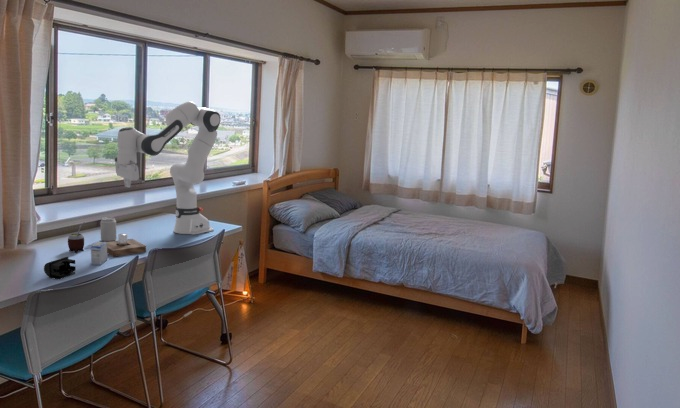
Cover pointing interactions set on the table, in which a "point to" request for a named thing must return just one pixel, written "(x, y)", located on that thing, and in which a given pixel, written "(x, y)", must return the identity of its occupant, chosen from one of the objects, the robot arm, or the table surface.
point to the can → (108, 229)
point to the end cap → (60, 268)
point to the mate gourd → (76, 241)
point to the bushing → (122, 239)
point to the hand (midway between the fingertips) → (127, 186)
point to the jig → (125, 248)
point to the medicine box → (98, 253)
